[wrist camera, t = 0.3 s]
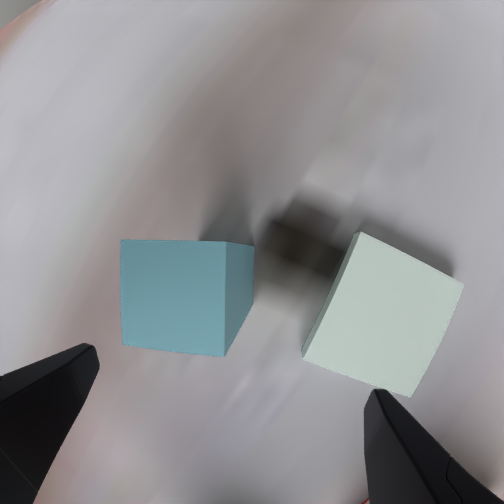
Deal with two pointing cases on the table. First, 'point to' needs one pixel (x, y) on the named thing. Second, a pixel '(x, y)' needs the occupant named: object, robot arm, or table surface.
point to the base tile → (382, 317)
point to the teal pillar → (184, 294)
